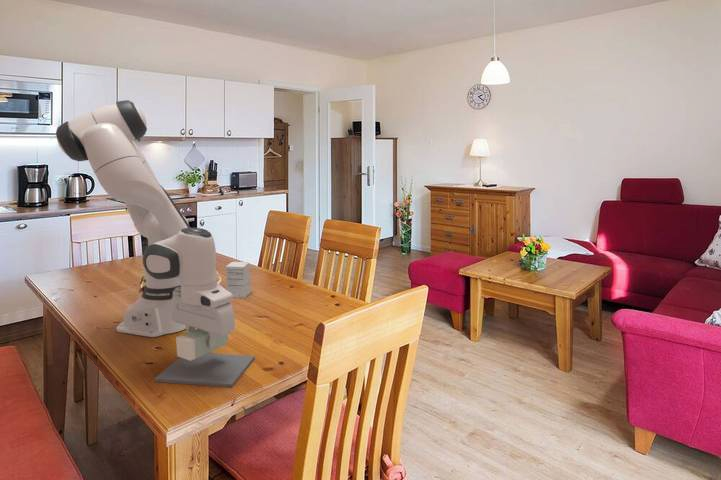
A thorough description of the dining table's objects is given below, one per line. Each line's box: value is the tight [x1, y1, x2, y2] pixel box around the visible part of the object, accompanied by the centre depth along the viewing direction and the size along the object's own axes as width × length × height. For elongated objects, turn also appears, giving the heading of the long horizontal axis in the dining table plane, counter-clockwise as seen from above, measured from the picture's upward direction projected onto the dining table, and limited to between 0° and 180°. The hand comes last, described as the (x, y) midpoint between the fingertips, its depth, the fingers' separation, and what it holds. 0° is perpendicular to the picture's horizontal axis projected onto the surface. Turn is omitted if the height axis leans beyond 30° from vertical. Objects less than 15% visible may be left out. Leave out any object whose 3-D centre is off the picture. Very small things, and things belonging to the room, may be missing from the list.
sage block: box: [175, 328, 229, 361], centre depth 121 cm, size 5×5×12 cm
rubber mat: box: [154, 352, 256, 388], centre depth 123 cm, size 20×16×1 cm
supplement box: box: [225, 261, 252, 299], centre depth 184 cm, size 7×7×13 cm
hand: (202, 344), depth 121 cm, fingers closed on sage block, 5 cm apart
